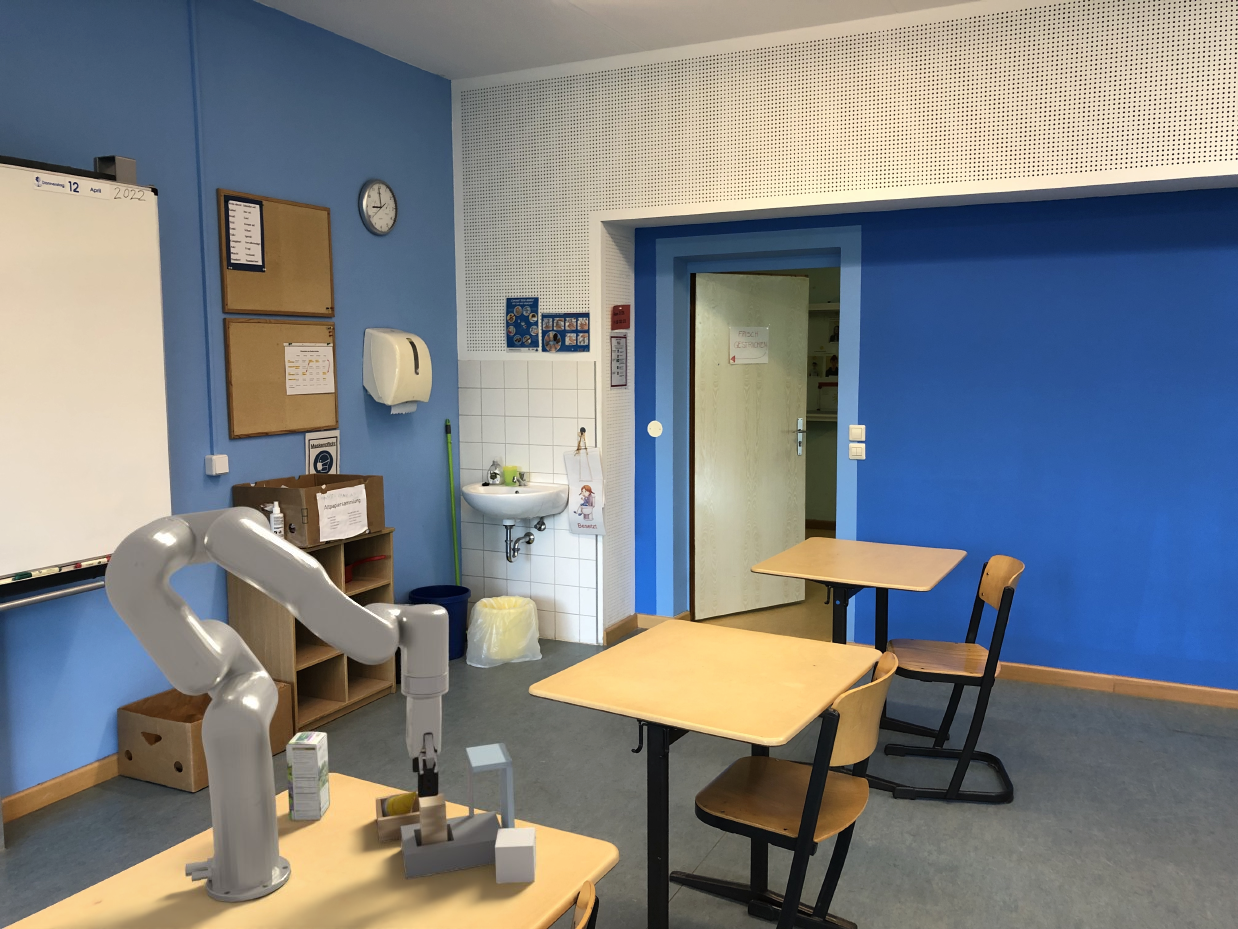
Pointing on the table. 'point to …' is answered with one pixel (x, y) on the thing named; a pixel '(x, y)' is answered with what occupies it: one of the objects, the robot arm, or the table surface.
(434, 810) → the peg
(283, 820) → the table surface
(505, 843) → the white block
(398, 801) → the yellow curved piece
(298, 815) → the syrup box
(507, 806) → the blue-grey arch piece
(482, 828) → the socket
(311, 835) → the table surface
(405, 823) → the divided wooden box
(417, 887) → the table surface
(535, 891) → the table surface
